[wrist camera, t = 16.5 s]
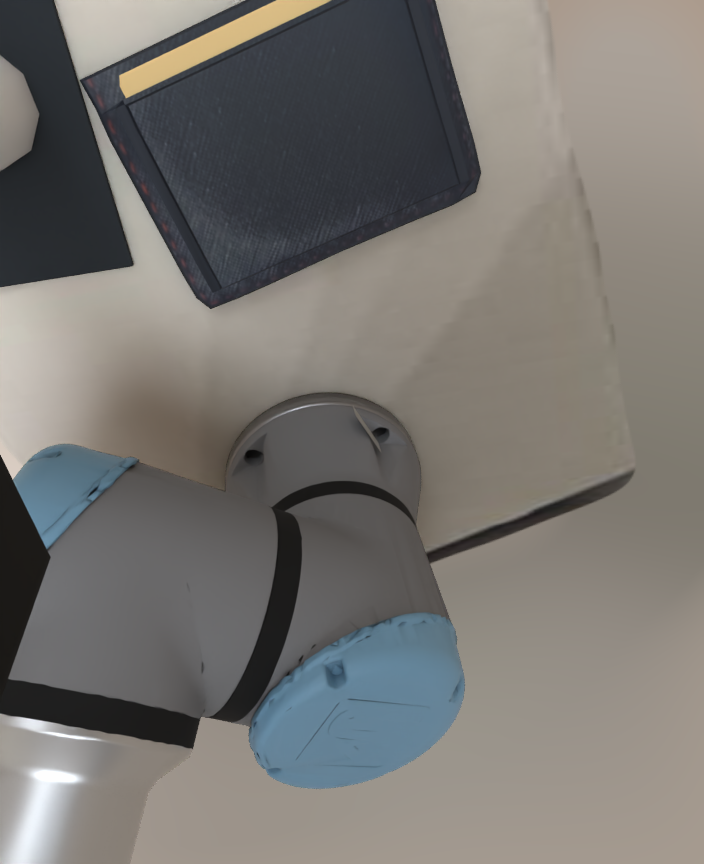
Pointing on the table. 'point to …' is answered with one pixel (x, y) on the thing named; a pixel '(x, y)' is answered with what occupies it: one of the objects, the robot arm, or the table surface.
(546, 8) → the table surface
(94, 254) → the mat
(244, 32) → the wallet
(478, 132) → the table surface
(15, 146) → the fire extinguisher
